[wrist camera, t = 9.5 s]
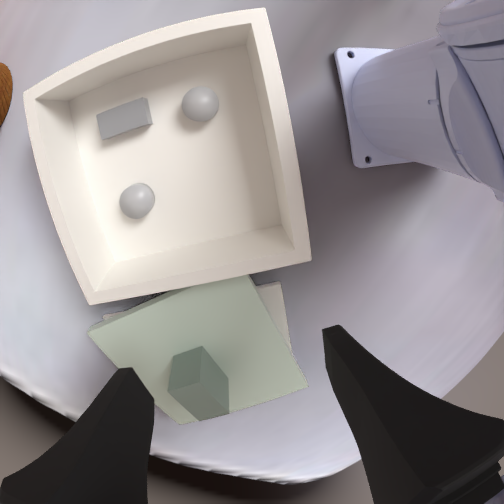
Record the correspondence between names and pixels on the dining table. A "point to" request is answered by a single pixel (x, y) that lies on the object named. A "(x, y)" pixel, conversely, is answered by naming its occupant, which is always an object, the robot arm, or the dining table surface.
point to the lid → (203, 349)
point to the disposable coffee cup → (5, 91)
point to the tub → (171, 159)
